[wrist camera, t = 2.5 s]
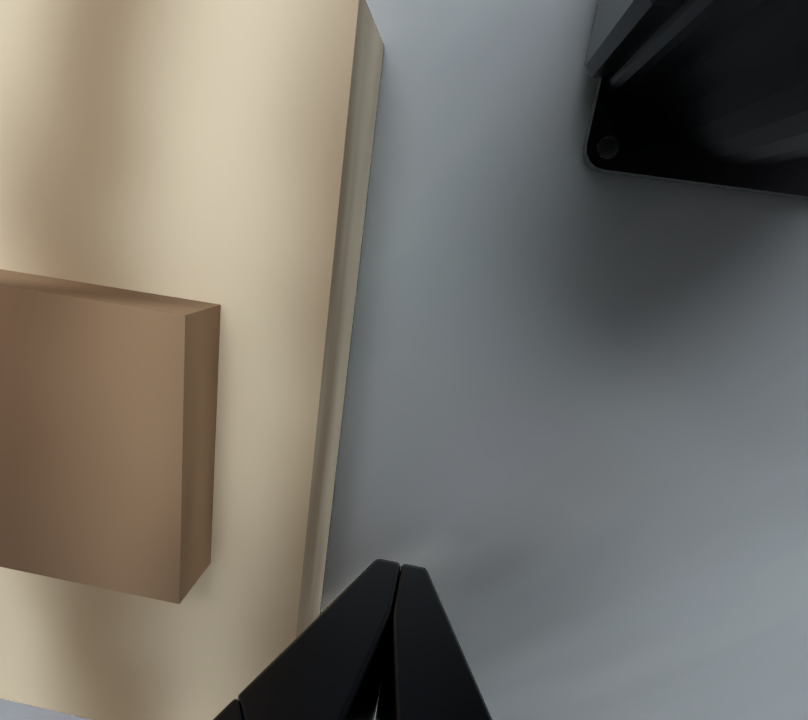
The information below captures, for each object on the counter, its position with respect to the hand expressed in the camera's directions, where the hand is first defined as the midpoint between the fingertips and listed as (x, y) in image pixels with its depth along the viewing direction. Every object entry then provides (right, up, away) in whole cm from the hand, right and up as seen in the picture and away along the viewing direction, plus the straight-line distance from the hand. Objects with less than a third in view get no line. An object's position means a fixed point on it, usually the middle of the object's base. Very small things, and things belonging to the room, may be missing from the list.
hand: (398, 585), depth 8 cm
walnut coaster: (-8, +2, +4) cm, 9 cm away
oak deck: (-7, +3, +7) cm, 11 cm away
